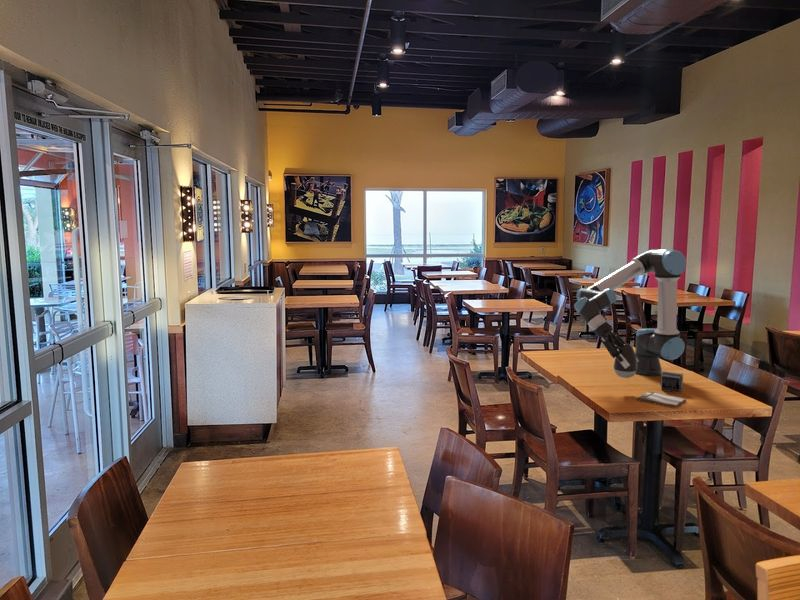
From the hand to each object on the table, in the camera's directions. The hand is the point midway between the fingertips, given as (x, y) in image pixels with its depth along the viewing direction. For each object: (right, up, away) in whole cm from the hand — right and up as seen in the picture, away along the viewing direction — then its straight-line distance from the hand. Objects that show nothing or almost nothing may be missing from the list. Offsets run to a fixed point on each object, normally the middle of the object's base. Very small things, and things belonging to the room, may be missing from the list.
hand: (632, 364), depth 273 cm
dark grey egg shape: (-2, -6, +3) cm, 7 cm away
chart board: (+10, -15, -8) cm, 20 cm away
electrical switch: (+21, -13, +7) cm, 26 cm away
